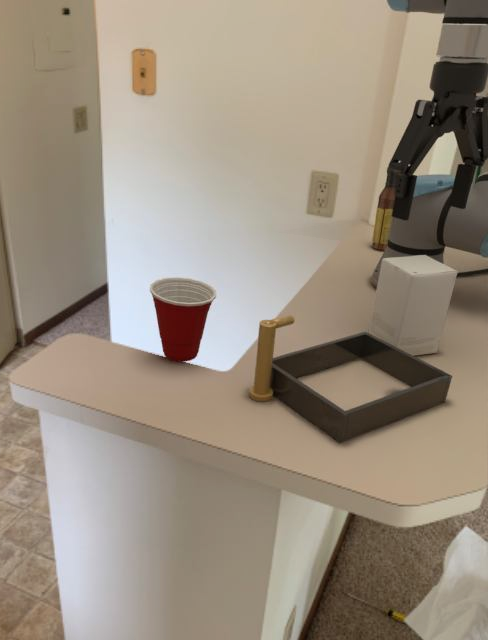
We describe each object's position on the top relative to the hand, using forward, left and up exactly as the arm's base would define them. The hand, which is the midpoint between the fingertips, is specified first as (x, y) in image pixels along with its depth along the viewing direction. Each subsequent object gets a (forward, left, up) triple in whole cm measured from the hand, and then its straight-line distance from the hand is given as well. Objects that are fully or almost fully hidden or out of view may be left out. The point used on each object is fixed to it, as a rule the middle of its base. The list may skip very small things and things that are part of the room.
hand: (429, 212), depth 97 cm
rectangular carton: (+1, +1, -23) cm, 23 cm away
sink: (+22, +9, -23) cm, 33 cm away
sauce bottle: (-39, -41, -23) cm, 62 cm away
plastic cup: (+37, -15, -23) cm, 46 cm away
